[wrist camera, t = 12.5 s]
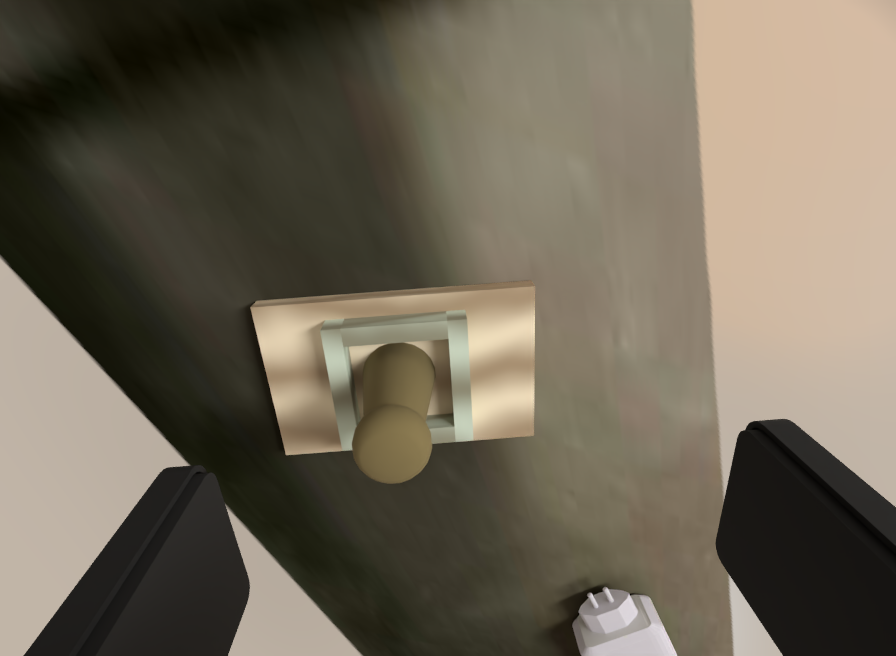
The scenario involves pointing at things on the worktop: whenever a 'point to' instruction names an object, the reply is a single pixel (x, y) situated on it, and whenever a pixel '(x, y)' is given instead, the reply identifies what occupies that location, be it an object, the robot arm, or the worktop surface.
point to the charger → (620, 626)
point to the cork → (395, 413)
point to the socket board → (396, 321)
